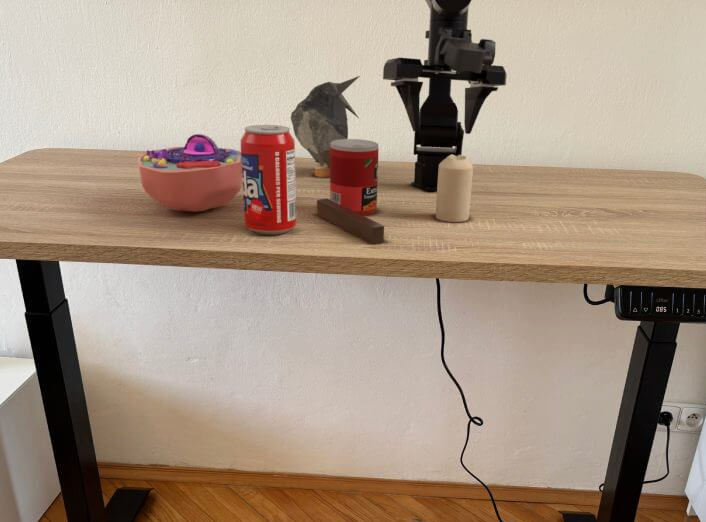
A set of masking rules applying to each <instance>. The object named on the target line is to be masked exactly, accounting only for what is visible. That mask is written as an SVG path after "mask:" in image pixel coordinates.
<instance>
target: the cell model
mask: <svg viewBox="0 0 706 522" xmlns="http://www.w3.org/2000/svg"><path fill="white" fill-rule="evenodd" d="M136 161H137V165H138V170H139V175H140V183H141V187H142V188H143V190H144V191H145V193H146V194H147V195H148V196H149V197H150V198H151V199H153V200H154V201H156V202H157V203H159V204H160V205H162V206H164V207H165V208H167V209H169V210H173V211H183V212H193V213H194V212H195V213H196V212H201V213H202V212H205V211H207V210H210V209H216V208H219V207H222V206H225V205H227V204H229V203H230V202H232V201H233V200H234V198H235V197H237V195H238V193H240V191H241V189H242V188H243V182H242V162H241V151H239V150H237V149H233V148H221V147H218V145H217V143H216V142H215V141H214V140H213V138H212V137H209V136H207V135H206V134H202V133H197V134H192V135H191V136H189V137H188V138H187V141H186V143H185V144H184V146H174V147H173V146H171V147H168V148H167V147H166V148H162V149H151V150H148V149H147V150H146V152H144V153H142V154H140V155H139V156H138V157H137V159H136Z"/></svg>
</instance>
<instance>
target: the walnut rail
mask: <svg viewBox="0 0 706 522" xmlns="http://www.w3.org/2000/svg"><path fill="white" fill-rule="evenodd" d="M316 215H317V216H319V217H320V218H323V219H324V220H326V221H328V222H330V223H332V224H334V225H335V226H337V227H340V228H342V229H343V230H345V231H347V232H349V233H350V234H353V235H355V236H357V237H359V238H361V239H363V240H365V241H366V242H368V243H370V244H372V245H374V244H381V243H384V242H385V225H383V224H381V223H380V222H377V221H375V220H373V219H371V218H369V217H367V216H366V215H365V216H363V215H361V214H359V213H357V212H354V211H352V210H350V209H348V208H346V207H344V206H342V205H340V204H338V203H336V202H334V201H332V200H330V198H321V199H317V200H316Z"/></svg>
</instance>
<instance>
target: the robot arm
mask: <svg viewBox="0 0 706 522" xmlns="http://www.w3.org/2000/svg"><path fill="white" fill-rule="evenodd" d="M424 2H426V4H427V6H428V8H429V28H428V29H429V30H425V37H424V38H425V39H428V47H427V59H424V60H423V63H422V60H421V59H420V58H410V57H396V58H389V59H387V60H386V61H385V62H384V66H383V71H382V80H387V81H391V82H390V86H391V87H395V88H396V90H397V93H398V95H399V97H400V100H401V101H402V104H403V106H404V109H405V112H406V115H407V117H408V120H409V123H410V126H411V129H412V132H413V134H414V136H413V155H414V156H416V161H415V162H414V174H413V175H414V177H413V181H411V182H410V185H411V186H414V187H417V188H420V189H422V190H423V191H424V190H425V191H427V192H435V191H436V192H437V186H438V170H439V164H440V163H441V162H442V161H443V160H444V159H446V158H447V157H449V156H450V155H455V156H460V155H462V153H463V143H464V135H470V134H471V133H472V130H473V128H474V126H475V123H476V121H477V118H478V116H479V113H480V111H481V109H482V107H483V105H484V103H485V102H486V99H487V98H488V97H489V96H490V94H491V93H493V92H497V91H498V89H499V87H502V86H503V87H504V86H506V85H507V76H508V74H507V72H506V69H505V67H504V66H503V65H494V62H495V58H496V46H497V45H496V41H495V40H493V39H487V38H481V39H480V40H479V42H473V40H472V37H473V36H472V35H473V34H472V29H468V23H469V7H470V5H471V2H472V0H425V1H424ZM419 78H422V79H423V78H424V79H428V95H427V96H426V99H425V100H424V101H423V103H422V104H421V105H420V95H421V91H422V88H423V85H424V81H419ZM452 81H461V82H467V83H468V85H469V87H464V122H463V124H464V128H463V126H462V121H459V120H458V119H459V109H458V106H457V103H456V102H454V99H453V98H452V96H451V94H452V93H451V92H452ZM462 156H463V155H462Z"/></svg>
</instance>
